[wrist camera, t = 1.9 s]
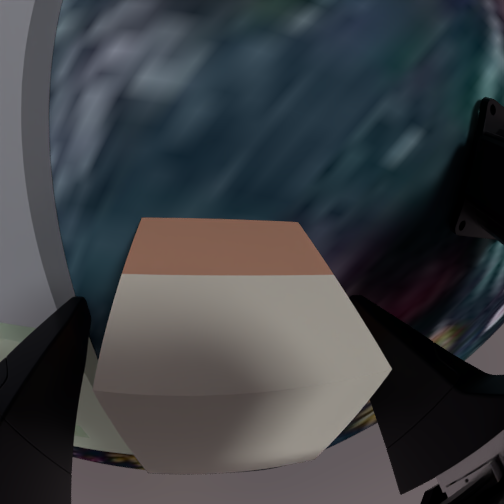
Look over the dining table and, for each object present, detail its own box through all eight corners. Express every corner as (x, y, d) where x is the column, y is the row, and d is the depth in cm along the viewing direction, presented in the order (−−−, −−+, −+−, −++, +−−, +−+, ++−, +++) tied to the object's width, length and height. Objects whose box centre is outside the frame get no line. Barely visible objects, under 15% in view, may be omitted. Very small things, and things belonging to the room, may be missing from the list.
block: (297, 221, 9) (392, 369, 4) (272, 329, 12) (314, 459, 7) (142, 217, 8) (92, 390, 3) (153, 330, 11) (147, 473, 6)
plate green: (83, 320, 10) (73, 349, 9) (135, 435, 16) (134, 454, 15) (-72, 297, 7) (-84, 314, 6) (5, 410, 14) (1, 425, 12)
